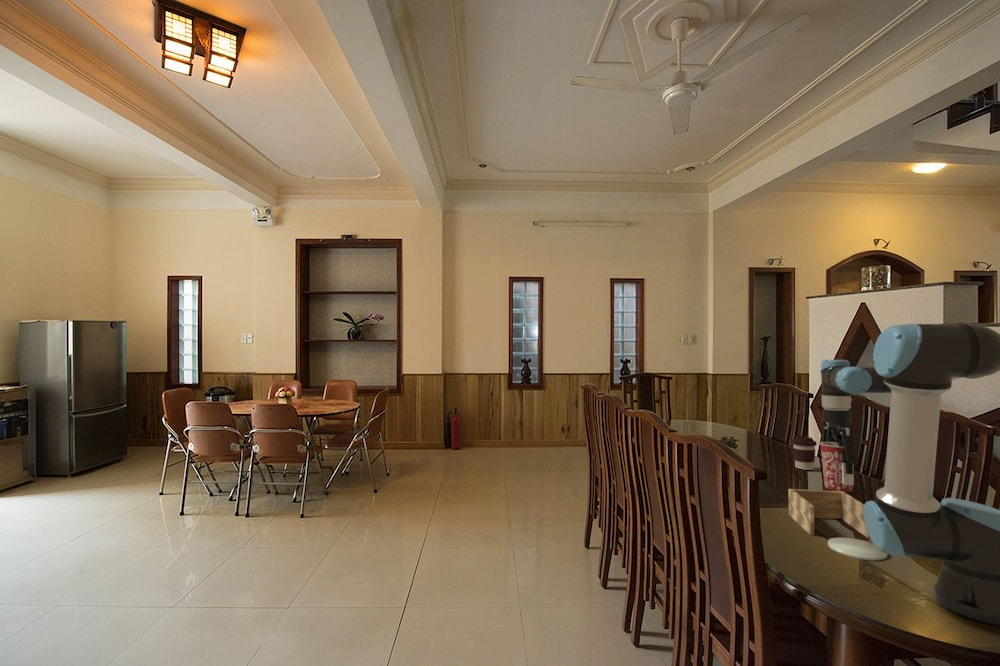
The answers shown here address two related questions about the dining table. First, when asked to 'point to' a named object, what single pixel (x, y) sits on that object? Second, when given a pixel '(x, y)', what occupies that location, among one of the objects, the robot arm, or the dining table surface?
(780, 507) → the dining table surface
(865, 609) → the dining table surface
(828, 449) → the mug
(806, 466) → the coffee cup
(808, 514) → the crate
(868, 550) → the disc
